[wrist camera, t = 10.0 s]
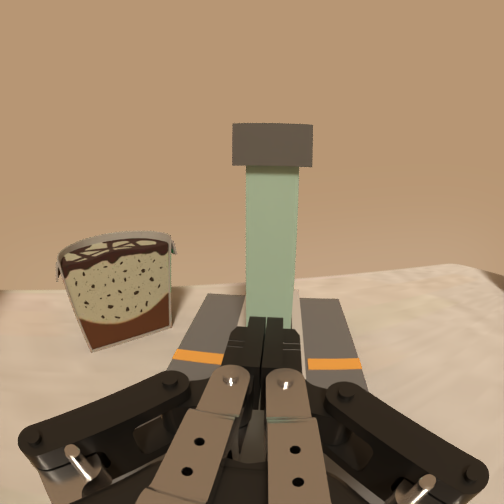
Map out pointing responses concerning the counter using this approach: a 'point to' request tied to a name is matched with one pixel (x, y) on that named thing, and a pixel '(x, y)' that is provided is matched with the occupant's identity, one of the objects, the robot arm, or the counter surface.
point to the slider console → (312, 355)
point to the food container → (119, 285)
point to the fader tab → (271, 211)
